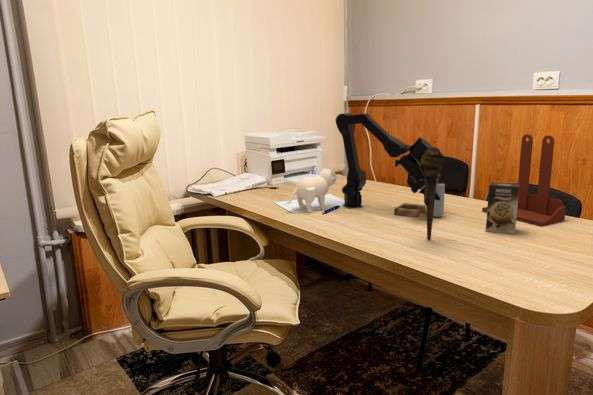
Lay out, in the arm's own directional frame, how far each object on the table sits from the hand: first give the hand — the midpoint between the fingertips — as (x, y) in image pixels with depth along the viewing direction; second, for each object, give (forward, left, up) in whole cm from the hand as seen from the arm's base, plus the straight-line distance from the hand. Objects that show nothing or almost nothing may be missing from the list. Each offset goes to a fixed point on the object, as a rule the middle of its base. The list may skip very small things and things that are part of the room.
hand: (441, 198), depth 160 cm
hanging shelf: (+27, -12, -8) cm, 31 cm away
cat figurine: (-39, +33, -7) cm, 52 cm away
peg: (-1, +1, -7) cm, 7 cm away
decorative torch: (-19, -20, -7) cm, 29 cm away
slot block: (-7, +10, -7) cm, 14 cm away
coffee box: (+8, -22, -7) cm, 25 cm away
